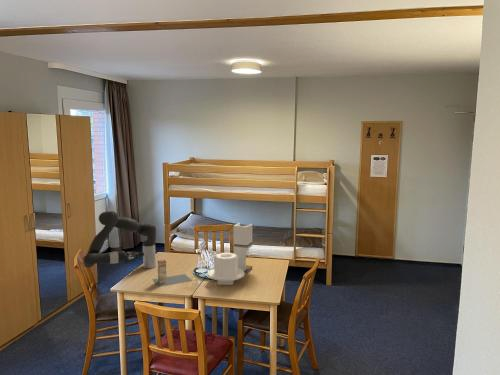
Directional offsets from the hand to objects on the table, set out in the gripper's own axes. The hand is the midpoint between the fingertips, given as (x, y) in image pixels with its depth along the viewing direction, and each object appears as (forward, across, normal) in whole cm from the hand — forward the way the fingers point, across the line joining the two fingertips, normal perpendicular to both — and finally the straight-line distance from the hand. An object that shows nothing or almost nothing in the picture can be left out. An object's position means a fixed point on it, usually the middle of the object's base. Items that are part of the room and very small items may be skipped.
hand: (143, 253), depth 264 cm
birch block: (+12, 0, +21) cm, 25 cm away
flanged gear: (+51, -20, +22) cm, 59 cm away
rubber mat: (+19, 0, +22) cm, 29 cm away
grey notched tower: (+73, -3, +22) cm, 76 cm away
